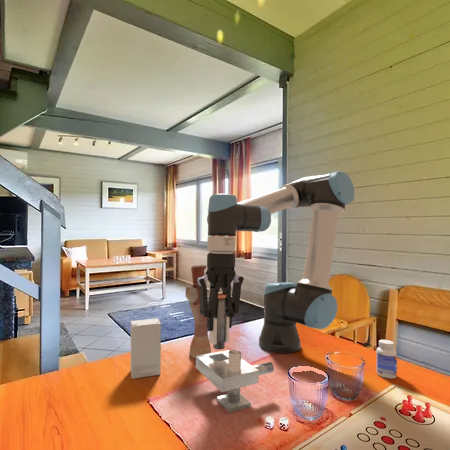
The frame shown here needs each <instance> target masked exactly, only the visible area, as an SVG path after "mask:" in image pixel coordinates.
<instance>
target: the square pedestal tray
mask: <svg viewBox="0 0 450 450" xmlns="http://www.w3.org/2000/svg"><path fill="white" fill-rule="evenodd" d="M195 368H196V370H197V371H199V372H200V373H201V374H202V375H203V376H204V377H205V378H206V379H207V380H208V381H210V383H211V384H212V385H213V386H215V387H216V389H218V390H219V391H220V393H225V392H227V394H223V395H219V396H216V402H218V403H219V404H220V406H221V407H223V408H224V409H225V411H227V412H228V413H234V412H236V411H240V410H244V409H246V408H250V407H252V402H251V401H249V399H248V398H247V397H245V396H244V395H243V394H242V393H241V389H242V388H244V387H248V386H251V385H257V384H259V380H260V379H259V378H260V377H259V376H261V375H262V376H263V375H265V374H267V375H268V374H271V373H273V372H274V371H275V367H274V364H273V363H272V362H271V361H269V362H264V363H260V364H255V365H252V364H250V363H248V362H247V361H246V360H245V359H243V358H242V352H241V351H240V350H237V349H231V350H230V349H227V350H221V351H216V352H211V353H209V354H204V355H198V356H196V359H195Z"/></svg>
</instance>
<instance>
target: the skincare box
mask: <svg viewBox="0 0 450 450" xmlns="http://www.w3.org/2000/svg"><path fill="white" fill-rule="evenodd" d="M161 330H162V323H161V321H160V320H159V318H157V317H156V318H148V319H138V320H130V376H131V379H132V380H133V379H139V378H146V377H152V376H161V373H162V372H161V370H162V369H161V368H162V367H161V363H162V362H161V361H162V360H161V355H162V354H161V353H162V351H161V349H162V348H161V347H162V345H161V343H162V341H161V339H162V337H161V336H162V335H161V334H162V331H161Z"/></svg>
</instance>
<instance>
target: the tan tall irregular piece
mask: <svg viewBox="0 0 450 450" xmlns="http://www.w3.org/2000/svg"><path fill="white" fill-rule="evenodd" d="M190 268H191V270H190V271H191V278H192V285H187V286H186V288H185V298H186V299H187V301H189V307H190V310H191V313H192V316H193V317H192V318H193V321H194V331H193V332H194V333H193V337H192V339H191V342H190V346H189V357H190V358H192V359H195V360H196V356H198V355H204V354H209V353H212V348H211V342H209V330H207V317H205V316H203V315H201V314H200V300H199V286H198V283H197V281H196V279H197V278H198V277H199V278H201V277H203V276H205V274H206V272H205V271H206V270H207V264H201V265H193V266H191V267H190ZM208 301H209V298H208Z"/></svg>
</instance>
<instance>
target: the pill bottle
mask: <svg viewBox="0 0 450 450" xmlns="http://www.w3.org/2000/svg"><path fill="white" fill-rule="evenodd" d="M375 351H376V352H375V353H376V374H377V375H378V376H379V377H382V378H385V379H396V378H397V376H398V354H397V350H396V349H395V342H394V341H392V340H388V339H380V340H378V347H377V348H376V350H375Z"/></svg>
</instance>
